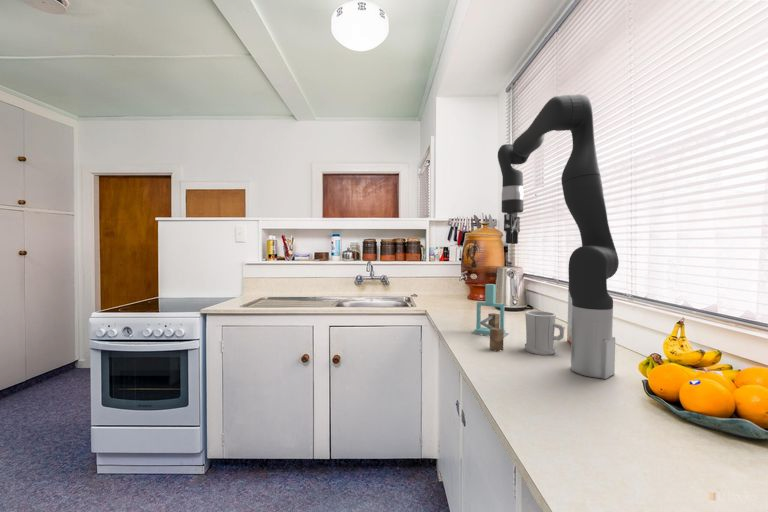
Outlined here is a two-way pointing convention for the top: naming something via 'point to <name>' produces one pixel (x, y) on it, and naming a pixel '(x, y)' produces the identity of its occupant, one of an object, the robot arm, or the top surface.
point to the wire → (486, 321)
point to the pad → (489, 335)
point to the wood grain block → (496, 333)
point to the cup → (541, 332)
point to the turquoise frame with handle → (490, 301)
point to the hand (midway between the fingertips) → (511, 243)
